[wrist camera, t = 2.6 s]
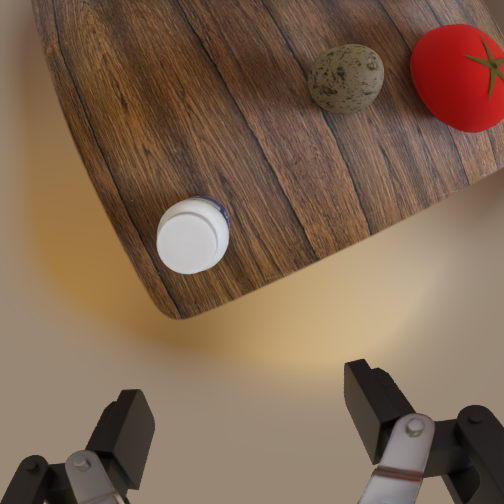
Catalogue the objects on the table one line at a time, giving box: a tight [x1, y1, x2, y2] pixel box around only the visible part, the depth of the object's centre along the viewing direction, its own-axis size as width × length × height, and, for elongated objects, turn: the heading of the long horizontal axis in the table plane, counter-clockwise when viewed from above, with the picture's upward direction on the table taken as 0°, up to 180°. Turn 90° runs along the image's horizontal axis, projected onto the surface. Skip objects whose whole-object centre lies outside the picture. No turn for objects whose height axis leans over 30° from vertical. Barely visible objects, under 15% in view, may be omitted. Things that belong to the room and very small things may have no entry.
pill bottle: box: [157, 196, 230, 274], centre depth 25 cm, size 5×5×10 cm
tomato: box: [410, 24, 504, 133], centre depth 22 cm, size 11×12×10 cm
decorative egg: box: [308, 44, 384, 115], centre depth 22 cm, size 6×6×10 cm
